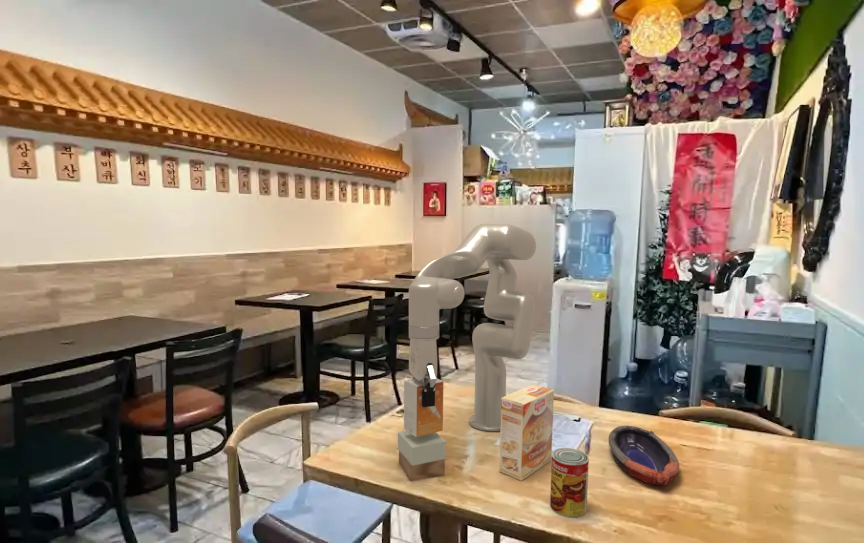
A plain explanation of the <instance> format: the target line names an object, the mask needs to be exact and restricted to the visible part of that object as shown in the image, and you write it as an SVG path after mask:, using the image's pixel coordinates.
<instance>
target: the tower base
mask: <svg viewBox="0 0 864 543" xmlns="http://www.w3.org/2000/svg"><path fill="white" fill-rule="evenodd" d="M445 460H446V459H442V460H437V461H432V462H428V463H423V464H418V465H413V466H412V465H411V464H410V462H409V461H408V460H407V459H406V458H405V457H404V455H403V454H402V453H401V452H400V451H399V450H398V464H399V466H400V467H401V469H402V471H403V473H404V474H405V476H406V477H407V479H408V480H409V482H414V481H420V480H425V479H426V480H427V479H433V478H438V477H444V476H446V475H445V467H446V466H445V465H446V464H445V463H446V461H445Z"/></svg>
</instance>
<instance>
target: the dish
mask: <svg viewBox="0 0 864 543" xmlns="http://www.w3.org/2000/svg"><path fill="white" fill-rule="evenodd" d="M608 446H609V448H610V451H611V453H612V455H613V457H614V459H615V461H616V462H617V464H618V465H619V466H620V468H621V469H622V470H624V472H626V473H627V474H629V475H631V476H632V477H635V478H636V479H638V480H640V481H642V482H644V483H647V484H652V485H657V486H658V485H659V486H668V485H670V483H672V481H673V479H674V478H675V477H676V475H677V474H678V472H679V469H680V462H679V460H678V458H677V455H676V454H675V452H674V451H673V450H672V449H671V447H670V446H669V445H668V444H667V443H666V442H665V441H664V440H662V439H661V438H660V437H659V436H658V435H657V434H655V433H654V431H653V430H647V429H644V428H642V427H638V426H633V425H620V426H616V427H615V428H613V429H612V430H611V432H609V435H608Z"/></svg>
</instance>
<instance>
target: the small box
mask: <svg viewBox="0 0 864 543" xmlns="http://www.w3.org/2000/svg"><path fill="white" fill-rule="evenodd" d="M424 378H429V376H425V377H424ZM427 383H429V381H426V385H427ZM435 385H436V386H435V406H431V407H422V391H423V384H422V380H420V381H418V380H417V379H416V378H413V377H412V378H410V379H404V381H403V429H404V431H407V432H409V433H410V434H412V435H413V436H415V437H420V436H423V435H427V434H431V433H435V432H436V433H438V432H442V431H443V429H444V385H445V384H444V380H442V379H439V378H438V377H436V383H435Z"/></svg>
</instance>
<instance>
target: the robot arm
mask: <svg viewBox="0 0 864 543" xmlns="http://www.w3.org/2000/svg"><path fill="white" fill-rule="evenodd" d="M457 246H458V247H457V248H456V249H454V250H453V251H451V252H448V253H446V254H444V255H442V256H440V257H439V258H436V259H434V260H432V261H430V262H429V263H427V264H426V265H425V266H423V268H422V269H421V270H420V271H419V273H418V274H417V275H416V276H415V278H414V279H413V280H412V283H410V285H409V287H408V338H409V339H410V340H409V354H408V355H409V356H408V371H409V372H410V374H411V376H412V379H413V378H416V379H417V380H418V381H420V380H422V384H423V391H422V407H431V406H435V386H436V385H435V383H436V378H438V377H437V376H438V351H437V350H438V349H437V348H438V347H437V340H439V339H440V310H442V309H444V310H445V309H454V308H457V307H458V306H460V305H461V304H462V303H463V301H464V298H465V288H464V286H463V284H462V283H461V282H460V281H458V280H455V279H459V278H463V277H467V276H470V275H474V274H476V273H477V272H479V270H480V269H481V268H482V266H483V265H484V263H486V262H487V265H488V270H489V274H488V275H489V277H488V283H487V287H486V293H485V298H484V304H483V312H484V315H485V316H486V317H487V318H489V319H493V320H497V321H503V322H511V323H513V325H506V324H499V323H495V322H494V323H492V322H483V323H481V324H478V325H477V326H476V327H475V328H474V329H473V331H472V336H471V338H472V340H471V341H472V346H473V352H474V366H475V368H474V414H473V415H471V416H470V417H469V422H468V423H469V425H470V426H471V427H472V428H474V429H477V430H480V431H484V432H500V427H501V398H502V397H504V396H507V391H506V390H507V367H506V364H505V361H504V359H503V358H506V359H512V360H522V359H524V358H525V357H526V356H527V354H528V352H529V349H530V346H531V339H532V334H533V329H534V323H535V317H536V309H537V308H536V307H537V306H536V299H535V298H534V296H533V295H532V294H531V293H530V292H527V291H522V290H516V285H517V277H518V275H517V271H516V269H515V267H514V266H513V264H512V263H511V260H512V261H513V260H514V261H515V260H516V261H528V260H529V259H532V257H533V256H534V255H535V253H536V250H537V242H536V239H535V237H534V235H533V234H532V233H531V232H529V231H528V230H525V229H522V228H521V227H517V226H516V225H512V224H509V223H508V224H507V223H481V224H478V225H476V226H475V227H473V228H472V230H471V231H470V232H469V233H468V234H467V236H466V237H465V238H464V239H463V240H462V241H461V243H460V244H459V245H457ZM425 376H429V378H424V377H425ZM426 381H429V383H427V385H426Z"/></svg>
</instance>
